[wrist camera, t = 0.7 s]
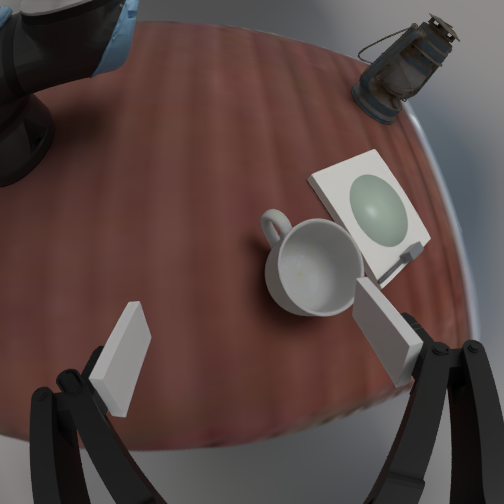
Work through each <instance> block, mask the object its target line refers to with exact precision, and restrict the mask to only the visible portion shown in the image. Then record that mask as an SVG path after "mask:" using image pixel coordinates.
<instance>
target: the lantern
mask: <svg viewBox="0 0 504 504" xmlns="http://www.w3.org/2000/svg"><path fill="white" fill-rule="evenodd" d="M430 15H431V17H432V18H431V19H430V20H429V21H428V22H429V24H427V23H426V22H423V23H422V24H421V25H420V26H419V27H418V25H417V24H416V23H413V24H412V25H411V27H409V28H406V29H404V30H401V31H399V32H396V33H394V34H392V35H389V36H387V37H385V38H383V39H381V40H379V41H377V42H375V43H373V44H371V45H369V46H368V47H370V46H372V45H374V44H376V43H378V42H380V41H382V40H384V39H386V38H389V37H391V36H393V35H396V34H398V33H400V32H403V31H405V30H407V31H406V32H405V33H404V34H402V36H401V37H400V38H399V39H398V40H397V41H395V43H393V44H392V45H391V46H390V47H389V48H388V49H387V50H386V51H385V52H384V53H382V55H381V56H380V57H378V58H377V59H376V61H374V62H373V63H371V62H368V61H366V60H363V59H362V58H360V56H359V54H360V53H361V52H363V51H364V50H365V49H367V48H368V47H366V48H364V49H363V50H361V51H360V52H359V54H358V57H359V58H360V59H361V60H362V61H366V62H368V63H371V65H370V66H369V67H368V68H367V69H366V70H365V71H364V72H363V74H361V77H360V81H359V82H360V83H357V84H355V86H354V87H352V95H353V97H354V99H355V101H356V102H357V104H358V105H359V106H360V107H361V108H362V109H363V110H364V112H366V113H367V114H368V115H369V116H371V117H372V118H373V119H375V120H377V121H379V122H381V123H384V124H392V123H393V122H394V121H395V119H396V114H397V113H398V112H399V111H400V110H401V109H402V105H401V102H400V100H402V101H404V100H403V99H406V100H405V101H404V102H406V101H407V99H408V98H410V97H412V96H414V95H416V94H417V93H418V92H419V91H420V89H421V88H422V87H423V86H424V84H425V83H426V82H427V81H428V79H429V78H430V77H431V76H432V74H433V73H434V72H435V71H436V69H437V68H438V67H439V66H441V67H442V64H441V63H442V62H443V61H444V59H445V58H446V57H447V56H448V53H450V52H451V51H452V46H451V44H450V43H449V42H451V43H452V42H453V41H454V40H455V38H456V39H457V40H458V41H460V40H459V39H458V37H457V35H456V33H455V32H454V31H453V30H452V29H451V28H452V26H450V25H449V24H447V23H445V22H444V21H443V20H441V19H440V18H438V17H436V16H434V15H432V14H430ZM435 20H436V21H437V22H438V23H439V24H438V25H435V24H434V23H433V22H434V21H435ZM450 27H451V28H450ZM448 33H450V34H451V35H452V36H451V37H449V36H447V34H448ZM377 73H378V74H377ZM377 76H378V77H377ZM379 76H380V77H379ZM376 77H377V78H379V79H377V78H376Z"/></svg>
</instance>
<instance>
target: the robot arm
mask: <svg viewBox="0 0 504 504" xmlns="http://www.w3.org/2000/svg"><path fill="white" fill-rule="evenodd" d="M138 3H139V0H23V1H22V3H21V5H20V12H19V13H17V14H14V15H12V9H11V8H10V7H9V6H4V7H0V187H1V186H6V185H9V184H12V183H14V182H16V181H18V180H19V179H21V178H22V177H24V176H25V175H26V174H28V173H29V172H30V171H31V170H32V169H33V168H34V167H35V166H36V165H37V164H38V163H39V162H40V161H41V159H42V158H43V157H44V155H45V154H46V152H47V150H48V149H49V147H50V145H51V142H52V139H53V136H54V129H55V127H54V121H53V119H52V116H51V113H50V111H49V109H48V108H47V107H46V106H45V105H44V104H43V103H42V102H41V101H40V100H39V99H38V98H37V97H36V96H35V95H34V94H33V93H35V92H38V91H41V90H44V89H47V88H50V87H54V86H57V85H60V84H64V83H68V82H71V81H75V80H79V79H83V78H88V77H90V78H92V77H95V76H96V75H98V74H102V73H106V72H110V71H114V70H116V69H118V68H119V67H121V66H122V65H123V64H124V63H125V61H126V60H127V57H128V55H129V51H130V47H131V43H132V38H133V33H134V28H135V22H136V17H135V16H136V13H137V8H138ZM352 316H353V318H354V319H355V321H356V322H357V324H358V326H359V327H360V329H361V330H362V332H363V334H364V335H365V337H366V338H367V340H368V342H369V343H370V345H371V347H372V348H373V350H374V352H375V353H376V355H377V356H378V358H379V360H380V361H381V363H382V365H383V367H384V368H385V370H386V372H387V373H388V375H389V377H390V378H391V380H392V382H393V384H394V385H395V387H399V386H402V385H405V384H408V383H409V381H410V378H411V376H413V378H414V379H415V382H414V384H413V387H412V389H411V392H410V398H409V401H408V404H407V407H406V410H405V413H404V416H403V419H402V421H401V424H400V427H399V430H398V432H397V435H396V438H395V440H394V442H393V445H392V447H391V450H390V452H389V455H388V456H387V459H386V461H385V463H384V466H383V468H382V470H381V472H380V474H379V476H378V478H377V480H376V482H375V484H374V486H373V488H372V490H371V492H370V493H369V495H368V497H367V498H366V500H365V501H364V503H363V504H418V502H419V500H420V497H421V495H422V492H423V489H424V486H425V481H424V480H423V479H424V475H425V472H426V469H427V466H428V463H429V460H430V456H431V454H432V450H433V447H434V443H435V440H436V435H437V432H438V428H439V424H440V419H441V415H442V410H443V405H444V400H445V394H446V389H447V390H448V398H449V408H450V420H451V421H450V422H451V444H452V470H451V490H450V504H504V422H503V416H502V411H501V406H500V402H499V397H498V393H497V389H496V385H495V382H494V378H493V374H492V371H491V368H490V364H489V361H488V358H487V355H486V352H485V349H484V347H483V345H482V344H481V343H480V342H478V341H476V340H467V341H466V342H465V343H464V344H463V347H462V348H461V349H450V348H449V346H447V345H446V344H444V343H441V342H434V340H433V339H432V338H431V337H430V336H429V335H428V333H427V332H426V331H425V330H424V329H423V328H422V326H421V325H420V324H419V323H418V322H417V321H416V320H415V319H414V317H412V316H411V315H409V314H407V313H401V314H399V312H398V311H397V310H396V309H395V308H394V307H393V305H392V304H391V303H390V302H389V301H388V300H387V299H386V297H385V296H384V295H383V294H382V293H381V292H380V291H379V290H378V288H377V287H376V286H375V285H374V284H373V283H372V282H371V281H370V280H369V278H368V277H363V278H356V285H355V296H354V305H353V314H352ZM150 340H151V335H150V332H149V329H148V326H147V323H146V320H145V316H144V313H143V310H142V307H141V304H140V301H138V302H128V304H127V306H126V308H125V310H124V311H123V313H122V315H121V317H120V319H119V320H118V322H117V324H116V326H115V328H114V330H113V332H112V333H111V335H110V337H109V339H108V341H107V343H106V345H105V346H99V347H98V348H97V349H96V350H94V351H93V353H92V355H91V357H90V359H89V361H88V362H87V365H86V366H85V368H84V370H83V372H82V374H81V375H80V374H79V372H78V371H77V370H75V369H67V370H64V371H63V372H61V373H60V374H59V375H58V377H57V379H56V384H57V385H58V387H59V388H60V390H61V391H62V392H60V393H53V392H52V391H51V389H50V388H48V387H41V388H38V389H37V390H36V391H35V392H34V393H33V395H32V398H31V412H30V469H31V481H32V492H33V499H34V504H91V503H90V499H89V495H88V491H87V487H86V482H85V478H84V473H83V469H82V463H81V457H80V451H79V445H78V438H77V430H78V432H79V434H80V437H81V439H82V441H83V443H84V446H85V448H86V450H87V452H88V454H89V456H90V458H91V460H92V462H93V464H94V466H95V468H96V470H97V472H98V473H99V475H100V477H101V479H102V481H103V482H104V484H105V486H106V488H107V489H108V491H109V493H110V494H111V496H112V498H113V499H114V501H115V502H116V504H167V503H166V502H165V500H164V499H163V498H162V497H161V495H160V494H159V493H158V492H157V491H156V489H155V488H154V487H153V485H152V484H151V483H150V482H149V480H148V479H147V478H146V476H145V475H144V473H143V472H142V471H141V469H140V468H139V467H138V465H137V464H136V462H135V461H134V459H133V458H132V456H131V455H130V453H129V452H128V450H127V449H126V447H125V446H124V444H123V443H122V441H121V439H120V438H119V436H118V434H117V433H116V431H115V429H114V428H113V426H112V424H111V423H110V421H109V419H108V417H107V416H106V413H107V410H109V412H110V413H111V415H112V416H118V417H126V415H127V411H128V408H129V404H130V401H131V398H132V395H133V391H134V388H135V385H136V382H137V379H138V376H139V373H140V369H141V366H142V363H143V360H144V357H145V354H146V352H147V349H148V346H149V343H150ZM76 429H77V430H76Z"/></svg>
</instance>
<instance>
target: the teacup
mask: <svg viewBox="0 0 504 504" xmlns="http://www.w3.org/2000/svg"><path fill="white" fill-rule="evenodd" d="M272 222H273V223H274V224H275V225H276V226H277V227H278V229H279V231H280V237H279V236H278V234H277V232H276V230H275V229H274V227H273V224H272ZM260 225H261V229H262V231H263V233H264V235H265V237H266V239H267V240H268V242H269V245H270V248H271V249H272V250H271V252H270V254H269V256H268V258H267V261H266V265H265V280H266V285H267V288H268V290H269V293H270V294H271V296H272V298H273V299H274V300H275V302H276V303H277V304H278V305H279V306H281V307H282V308H283V309H285V310H286V311H288V312H290V313H293V314H296V315H300V316H323V317H326V316H333V315H336V314H339V313H341V312H342V311H344V310H346V309H347V308H348V307H350V306H351V305H352V304H353V303H354V296H355V285H356V278H363V277H364V264H363V259H362V255H361V252H360V250H359V247H358V245H357V243H356V242H355V240H354V239H353V237H352V236H351V235H350V234H349V233H348V232H347V231H346V230H345V229H343V228H342V227H341V226H339V225H338V224H336V223H334V222H332V221H329V220H325V219H309V220H306V221H303V222H301V223H299V224H298V225H296V226H295V227H293V228H292V226H291V224H290V222H289V220H288V218H287V217H286V216H285V215H284V214H283V213H282V212H280V211H278V210H276V209H270V210H268V211H266V212H265V213H264V214H263V215H262V216H261V218H260Z"/></svg>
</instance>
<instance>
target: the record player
mask: <svg viewBox="0 0 504 504" xmlns="http://www.w3.org/2000/svg"><path fill="white" fill-rule="evenodd" d="M307 181H308V182H309V184H310V185H311V187H312V188H313V190H314V191H315V193H316V194H317V195H318V197H319V198H320V200H321V202H322V203H323V205H324V206H325V208H326V209H327V211H328V212H329V214H330V215H331V217H332V218H333V220H334V222H335V223H336V224H338V225H339V226H341V227H342V228H343V229H345V230H346V231H347V232H348V233H349V234H350V235H351V236H352V237H353V239H354V240H355V242H356V243H357V245H358V247H359V250H360V252H361V255H362V259H363V264H364V271H365V273H366V275H367V277H368V278H369V280H370V281H371V282H372V283H373V284H374V285H375V286H376V287H377V288H378V290H380V289H382V288H383V287H384V286H385V285H387V284H388V283H389V282H390V281H391V280H392V279H393V278H394V277H395V276H396V275H397V274H398V273H399V272H400V271H401V270H402V269H403V268H404V267H405V266H406V264H407V263H408V262H411V261H413V260H415V258H416V257H417V256H418V255H419V254H420V253H421V252H422V251H423V250H424V248H423V246H424V245H425V244H426V243H427V242H428V241H429V240H430V239H431V238H430V236H429V234H428V232H427V230H426V229H425V227H424V225H423V223H422V221H421V220H420V218H419V216H418V214H417V213H416V211H415V209H414V207H413V206H412V204H411V202H410V201H409V199H408V197H407V196H406V194H405V193H404V191H403V189H402V188H401V186H400V185H399V183H398V182H397V180H396V179H395V177H394V176H393V174H392V173H391V171H390V170H389V168H388V167H387V165H386V164H385V162H384V161H383V160H382V158H381V157H380V155H379V154H378V153H377V151H376V150H375V149H374V150H371V151H368V152H366V153H363V154H361V155H358V156H356V157H353V158H351V159H348V160H346V161H343V162H341V163H338V164H336V165H333V166H331V167H328V168H326V169H323V170H321V171H319V172H316V173H314V174H311V175H310V177H309V178H308V179H307Z"/></svg>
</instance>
